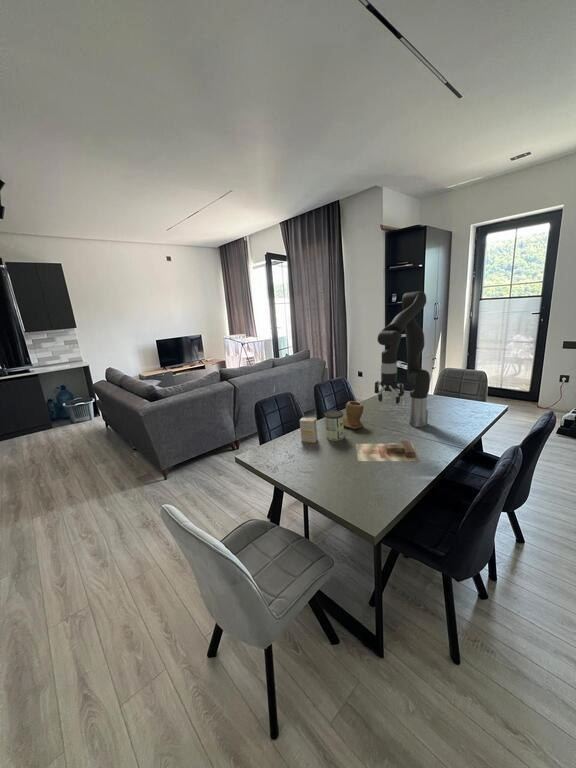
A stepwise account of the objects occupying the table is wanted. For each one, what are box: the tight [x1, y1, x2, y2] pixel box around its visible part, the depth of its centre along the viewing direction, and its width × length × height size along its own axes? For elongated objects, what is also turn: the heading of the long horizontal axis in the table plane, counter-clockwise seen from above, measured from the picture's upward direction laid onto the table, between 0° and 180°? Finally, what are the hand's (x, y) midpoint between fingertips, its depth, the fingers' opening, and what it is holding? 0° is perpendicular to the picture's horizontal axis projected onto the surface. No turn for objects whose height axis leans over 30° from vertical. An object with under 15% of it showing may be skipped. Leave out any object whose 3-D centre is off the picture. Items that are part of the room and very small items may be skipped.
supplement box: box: [299, 417, 319, 444], centre depth 169 cm, size 8×5×13 cm, turn 65°
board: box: [355, 442, 422, 462], centre depth 150 cm, size 28×18×1 cm, turn 81°
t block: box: [385, 440, 415, 458], centre depth 148 cm, size 12×12×3 cm
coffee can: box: [324, 410, 345, 442], centre depth 171 cm, size 10×10×14 cm
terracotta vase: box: [343, 400, 364, 430], centre depth 185 cm, size 15×12×15 cm
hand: (388, 402), depth 156 cm, fingers open, 8 cm apart
